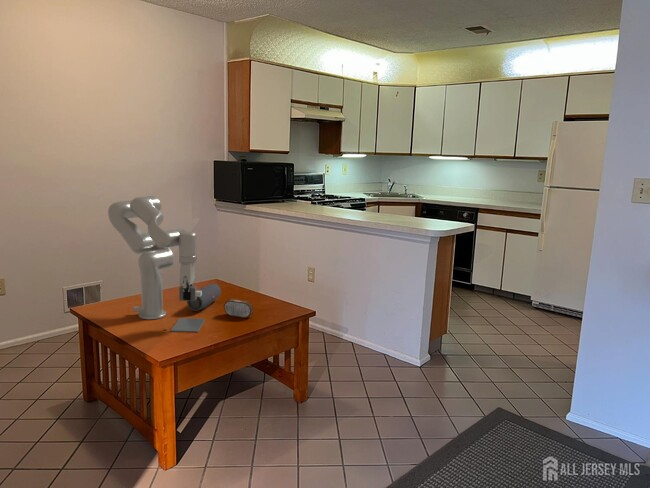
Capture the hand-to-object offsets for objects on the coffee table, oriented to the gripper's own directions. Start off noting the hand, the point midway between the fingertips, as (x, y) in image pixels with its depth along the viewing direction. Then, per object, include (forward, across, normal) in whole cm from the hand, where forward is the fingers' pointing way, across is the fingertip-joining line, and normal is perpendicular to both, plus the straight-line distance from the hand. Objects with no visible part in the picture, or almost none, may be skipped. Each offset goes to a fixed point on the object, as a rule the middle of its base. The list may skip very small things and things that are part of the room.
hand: (188, 298), depth 219 cm
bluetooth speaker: (+13, -28, +2) cm, 32 cm away
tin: (+13, -14, +21) cm, 29 cm away
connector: (+1, 0, +1) cm, 1 cm away
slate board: (+13, 0, 0) cm, 13 cm away
